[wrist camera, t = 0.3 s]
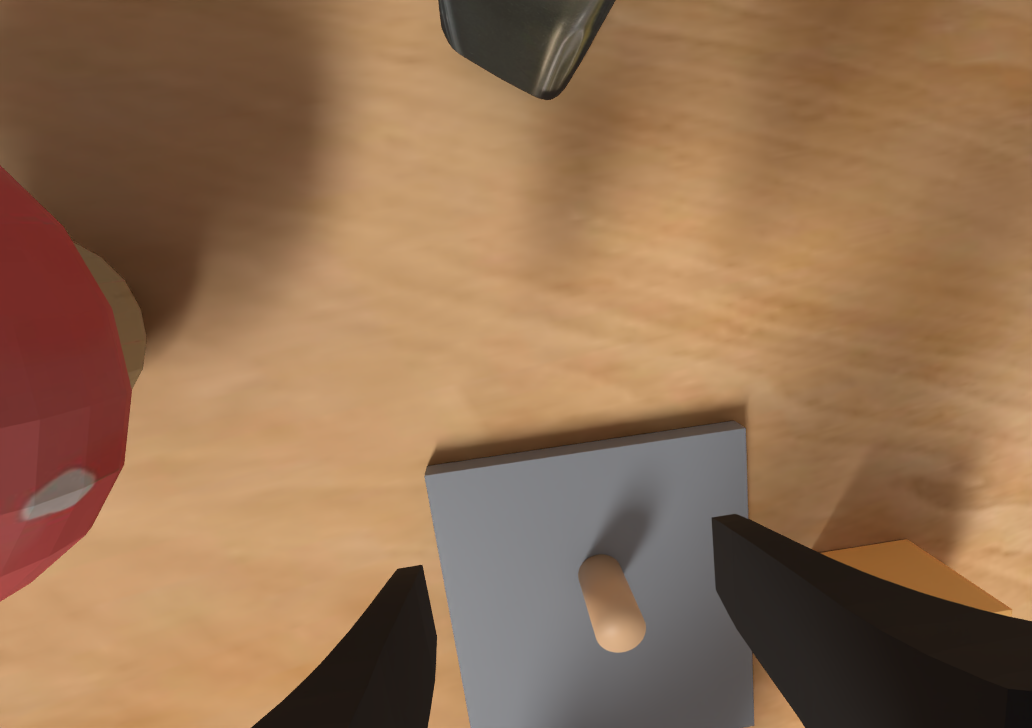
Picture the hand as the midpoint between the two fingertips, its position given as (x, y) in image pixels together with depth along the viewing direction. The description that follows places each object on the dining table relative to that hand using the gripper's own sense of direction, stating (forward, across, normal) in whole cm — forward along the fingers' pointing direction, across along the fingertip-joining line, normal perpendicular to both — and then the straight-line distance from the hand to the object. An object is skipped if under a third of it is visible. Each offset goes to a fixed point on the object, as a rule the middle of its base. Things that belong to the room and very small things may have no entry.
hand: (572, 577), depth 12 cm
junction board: (+10, -2, +9) cm, 14 cm away
